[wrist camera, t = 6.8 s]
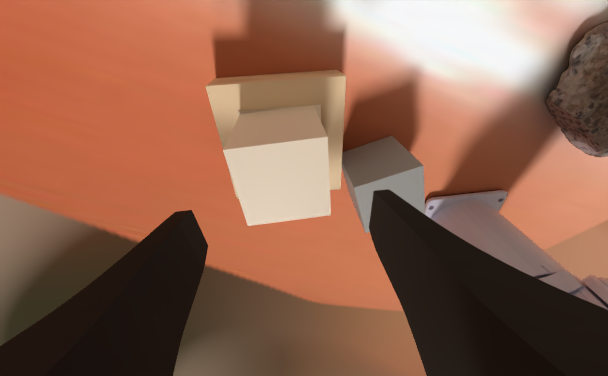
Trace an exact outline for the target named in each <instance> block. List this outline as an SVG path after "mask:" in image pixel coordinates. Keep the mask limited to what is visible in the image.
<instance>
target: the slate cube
mask: <svg viewBox="0 0 608 376" xmlns="http://www.w3.org/2000/svg"><path fill="white" fill-rule="evenodd" d="M342 170H343V173H344V177H345V180H346V184H347V187H348V191H349V194H350V197H351V199H352V201H353V204H354V206H355V209H356V211H357V213H358V216H359V218H360V221H361V223H362V225H363V228H364V230H365V232H366V233H367V232H370V230H369V222H370V215H371V207H372V200H373V192H374V191H376V190H386V189H389V190H391V191H392V192H394V193H395V194H397V195H398V196H399V197H401V198H402V199H404V200H405V201H406V202H408V203H409V204H411V205H412V206H413V207H415V208H416V209H418V210H419V211H420V212H422V213H423V214H425V196H424V168H423V165H422V164H421V163H420V162H419V161H418V160H417V159H416V158H415V157H414V156H413V155H412V154H411V153H410V152H409V151H408V150H407V149H406V148H405V147H404V146H403V145H401V144H400V143H399V142H398V141H397V140H396V139H395V138H394V137H393V136H392V135H391V136H389V137H386V138H383V139H380V140H377V141H374V142H371V143H368V144H365V145H362V146H359V147H357V148H354V149H351V150H348V151H345V152H342Z"/></svg>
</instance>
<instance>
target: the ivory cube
mask: <svg viewBox="0 0 608 376" xmlns="http://www.w3.org/2000/svg"><path fill="white" fill-rule="evenodd" d="M223 152H224V155H225V158H226V161H227V164H228V167H229V170H230V173H231V176H232V179H233V182H234V185H235V188H236V191H237V194H238V197H239V200H240V203H241V206H242V209H243V212H244V215H245V218H246V221H247V224H248V226H251V225H259V224H267V223H274V222H282V221H289V220H297V219H305V218H312V217H320V216H327V215H331V206H330V181H329V156H328V136H327V134H326V132H325V129H324V127H323V125H322V123H321V120H320V118H319V116H318V114H317V111H316V109H315V107H314V105H309V106H301V107H294V108H285V109H277V110H269V111H261V112H253V113H245V114H240V115H239V117H238V119H237V121H236V123H235V125H234V128H233V130H232V132H231V134H230V136H229V138H228V140H227V142H226V144H225V146H224V149H223Z"/></svg>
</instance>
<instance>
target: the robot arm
mask: <svg viewBox="0 0 608 376" xmlns="http://www.w3.org/2000/svg"><path fill="white" fill-rule="evenodd" d="M507 195H508V193H507V192H506V191H505V190H497V191H488V192H479V193H470V194H461V195H452V196H442V197H433V198H429V199H428V200H427V201H426V204H425V214H423V213H422V212H420V211H419V210H418V209H416V208H415V207H413V206H412V205H411V204H409V203H408V202H406V201H405V200H404V199H402V198H401V197H399V196H398V195H397V194H395V193H394V192H392V191H391V190H389V189H386V190H376V191H374V192H373V200H372V207H371V215H370V222H369V230H370V233H371V236H372V240H373V243H374V246H375V249H376V251H377V253H378V256H379V258H380V260H381V262H382V264H383V266H384V269H385V271H386V273H387V275H388V277H389V279H390V281H391V283H392V286H393V288H394V290H395V292H396V294H397V296H398V298H399V301H400V303H401V305H402V307H403V310H404V312H405V315H406V317H407V320H408V323H409V326H410V328H411V331H412V334H413V337H414V339H415V342H416V345H417V348H418V351H419V354H420V356H421V360H422V363H423V366H424V368H425V372H426V375H427V376H608V279H607V278H601V277H600V278H598V277H596V276H593V275H589V276H588V277H586V278H585V279H583V280H581V279H580V278H578V277H576V276H574V275H573V274H571V273H570V272H569V271H568V270H566V269H565V268H564V267H563V266H562V265H560V264H559V263H558V262H557V261H556V260H554V259H553V258H552V257H551V256H550V255H549V254H547V253H546V252H545V251H544V250H543V249H541V248H540V247H539V246H538V245H537V244H536V243H534V242H533V241H532V240H531V239H530V238H528V237H527V236H526V235H525V234H524V233H522V232H521V231H520V230H519V229H518V228H517V227H515V226H514V225H513V224H512V223H511V222H509V221H508V220H507V219H506V218H505V217H503V216H502V215H501V214H500V213H499V212H498V211H499V210H500V208H501V206H502V204H503V202H504V201H505V199H506V197H507ZM430 206H431V207H430ZM207 249H208V244H207V242H206V240H205V238H204V236H203V234H202V231H201V229H200V227H199V225H198V223H197V221H196V218H195V216H194V214H193V212H192V210H188V211H179V212H175V213H174V214H172V215H171V216H170V217H169V218H168V219H166V220H165V221H164V222H163V223H162V224H160V225H159V226H158V227H157V228H156V229H155V230H154V231H152V232H151V233H150V234H149V235H148V236H147V237H146V238H145V239H143V240H142V241H141V242H140V243H139V244H138V245H136V246H135V247H134V248H133V249H132V250H131V251H130V252H128V253H127V254H126V255H125V256H124V257H122V258H121V259H120V260H119V261H118V262H117V263H115V264H114V265H113V266H111V267H110V268H109V269H108V270H107V271H105V272H104V273H103V274H102V275H100V276H99V277H98V278H97V279H96V280H94V281H93V282H92V283H90V284H89V285H88V286H87V287H85V288H84V289H83V290H81V291H80V292H79V293H77V294H76V295H75V296H73V297H72V298H71V299H69V300H68V301H66V302H65V303H64V304H62V305H61V306H60V307H58V308H57V309H55V310H54V311H53V312H51V313H50V314H48V315H47V316H45V317H44V318H42V319H41V320H40V321H38V322H37V323H35V324H33V325H32V326H31V327H29V328H28V329H26V330H24V331H23V332H21V333H20V334H18V335H17V336H15V337H14V338H12V339H11V340H9V341H8V342H6V343H5V344H3V345H2V346H0V376H173V372H174V367H175V363H176V359H177V355H178V350H179V346H180V342H181V338H182V335H183V331H184V328H185V325H186V322H187V319H188V316H189V313H190V310H191V307H192V304H193V301H194V298H195V295H196V292H197V289H198V286H199V283H200V279H201V276H202V273H203V270H204V265H205V260H206V255H207Z"/></svg>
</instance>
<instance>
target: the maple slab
mask: <svg viewBox="0 0 608 376" xmlns="http://www.w3.org/2000/svg"><path fill="white" fill-rule="evenodd" d="M345 88H346V76H345V75H344V74H343V73H341V72H340V71H339V70H337V69H336V70H322V71H308V72H294V73H279V74H265V75H251V76H237V77H223V78H215V79H214V80H213V81H212V82H210V83H209V84H208V85H206V89H207V93H208V97H209V100H210V104H211V107H212V111H213V115H214V118H215V122H216V125H217V129H218V132H219V136H220V140H221V143H222V147H223V149H224V146H225V144H226V142H227V140H228V138H229V136H230V134H231V132H232V130H233V128H234V125H235V123H236V121H237V119H238V117H239V115H240V114H245V113H253V112H261V111H269V110H277V109H285V108H294V107H301V106H309V105H314V107H315V109H316V111H317V114H318V116H319V118H320V120H321V123H322V125H323V127H324V129H325V132H326V134H327V136H328V156H329V181H330V190H334V189H341V168H342V148H343V128H344V108H345ZM227 165H228V164H227ZM228 168H229V167H228ZM229 172H230V170H229ZM230 175H231V173H230ZM231 179H232V176H231ZM232 183H233V186H234V190H235V193H236V197H237V198H239V197H238V194H237V191H236V188H235V185H234V182H233V179H232Z"/></svg>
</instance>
